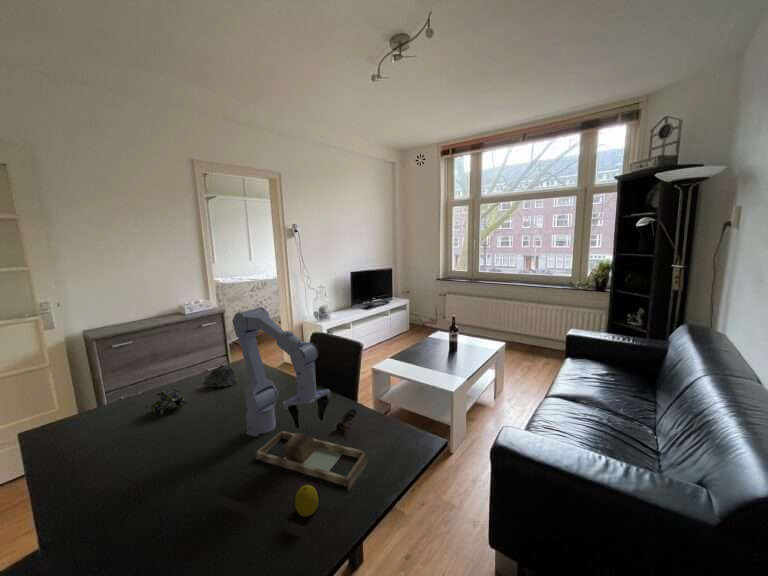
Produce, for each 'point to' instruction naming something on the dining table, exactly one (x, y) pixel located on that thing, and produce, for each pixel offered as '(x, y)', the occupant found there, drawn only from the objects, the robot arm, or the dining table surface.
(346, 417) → the eagle figurine
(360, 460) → the frame
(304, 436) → the walnut block
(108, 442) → the dining table surface
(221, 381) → the mineral rock
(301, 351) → the robot arm
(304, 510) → the lemon
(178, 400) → the passion flower
